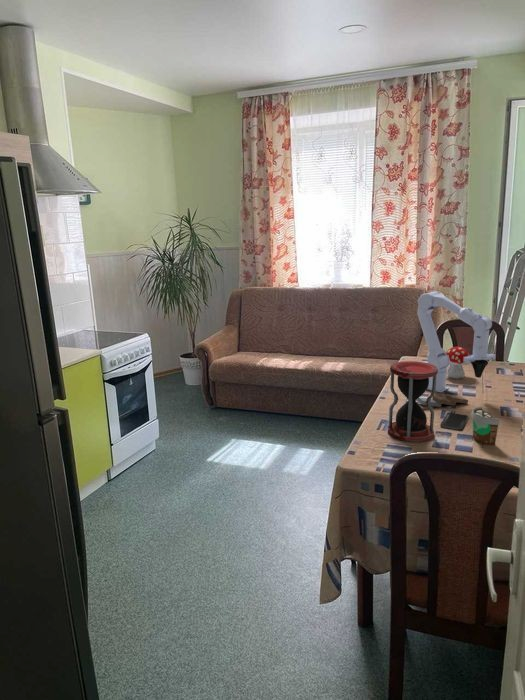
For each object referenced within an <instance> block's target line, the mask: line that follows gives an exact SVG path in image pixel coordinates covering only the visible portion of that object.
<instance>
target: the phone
mask: <svg viewBox="0 0 525 700" xmlns="http://www.w3.org/2000/svg"><path fill="white" fill-rule="evenodd" d="M468 420H469V415H466V414H460V413H456V412H447V414H446V415H445V417H444V418H443V420H442V421H441V423H440V426H439V427H440V428H442V429H448V430H452V429H453V430H454V431H459V432H461V431H463V429H464V427H465V426H466V424H467V421H468Z"/></svg>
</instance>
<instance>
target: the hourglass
mask: <svg viewBox="0 0 525 700" xmlns="http://www.w3.org/2000/svg"><path fill="white" fill-rule="evenodd" d="M389 371H390V383H389V384H390V385H389V387H390V389H389V390H390V392H391V393H392V395H393V398H394V399H393V402H392V403H391V404H390V406H389V408H388V409H389V415H388V416H389V417H388V425H387V433H388V434H389V435H390V437H392V438H394V439H397V440H399V441H403V442H408V443H409V442H410V443H411V442H412V443H413V442H414V443H420V442H421V443H422V442H426V441H429V440H431V439H432V438H434V436H435V435H434V434H435V431H434V430H435V429H434V422H435V412H434V411H435V410H434V408H433V409H432V407H431V405H430V401H431V399H432V398H433V396H436V392H437V391H436V376H437V373H438V368H437V367H436V366H434V365H432V364H429V363H428V362H423V361H418V360H417V361H416V360H414V361H412V360H407V361H406V360H405V361H397V362H394V363H392V364H391V365H390V368H389ZM395 376H397V387H398V389H399V391H400V392H401V394H402V395H403V396H404V397H405V398H406V399H407V401H406V402H405V403H404V404H403V405H401V406H400V408H399V409H398V410H397V412H396V415H395V421H393V415H394V414H393V412H394V411H393V409H394V408H395V406H396V405H397V404H398V401H399V396H398V393H397V392H396V391H395V388H394V384H395ZM429 377H433V384H432V390H431V393H430V395H429V396H427V398H426V399H427V400H426V404H427V407H428V408H429V409H428V410H429V412H430V420H429V425H428V424H427V414H426V412H425V410H423V409H422V408H421V407H420V406H419V404H420V403H419V402H418V401H416V400H418V398H421V396H423V395H424V394H425V393H426V391H428V389H427V388H428V385H429Z"/></svg>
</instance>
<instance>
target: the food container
mask: <svg viewBox="0 0 525 700" xmlns="http://www.w3.org/2000/svg"><path fill="white" fill-rule="evenodd" d="M470 418H471V419H472V438H473V440H474V442H476V443H479V444H482V445H487V446H489V445H490V446H495V445H496V440H497V435H498V429H499V426H500V418H498V417H496V418H495V417H494V416H493V415H492V414H491V413H489V412H487V411H485V410H484V409H483V406H479V407H474V408H473V410H472V411H471V413H470Z"/></svg>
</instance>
